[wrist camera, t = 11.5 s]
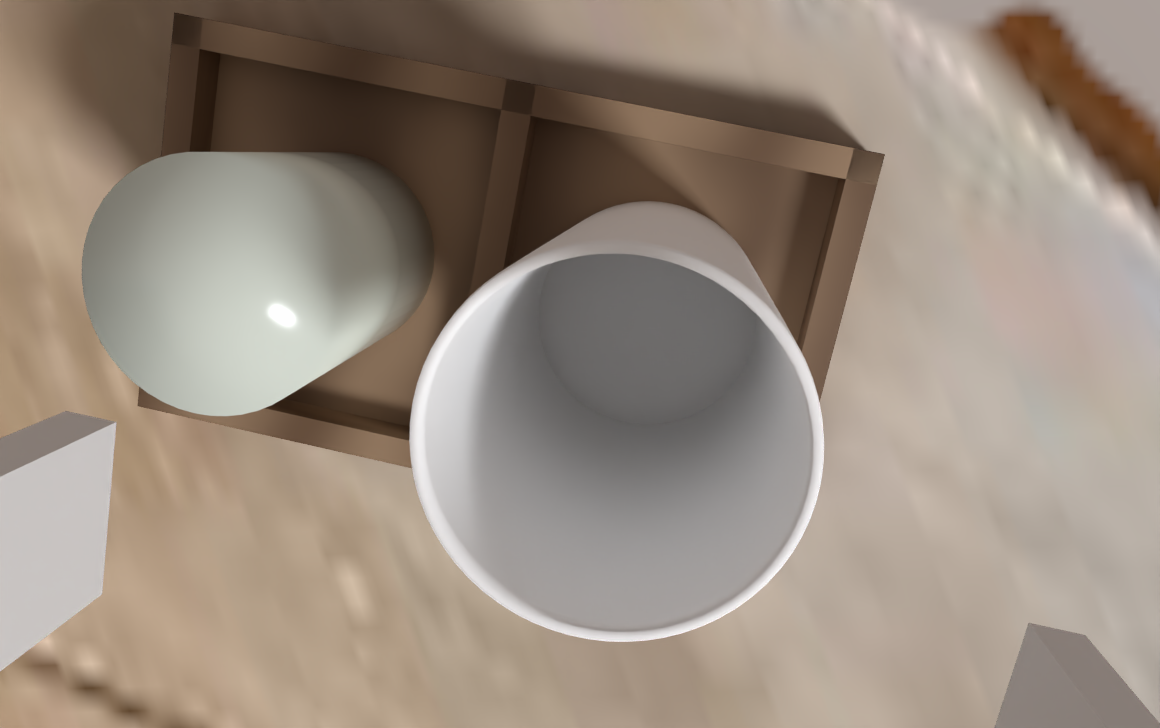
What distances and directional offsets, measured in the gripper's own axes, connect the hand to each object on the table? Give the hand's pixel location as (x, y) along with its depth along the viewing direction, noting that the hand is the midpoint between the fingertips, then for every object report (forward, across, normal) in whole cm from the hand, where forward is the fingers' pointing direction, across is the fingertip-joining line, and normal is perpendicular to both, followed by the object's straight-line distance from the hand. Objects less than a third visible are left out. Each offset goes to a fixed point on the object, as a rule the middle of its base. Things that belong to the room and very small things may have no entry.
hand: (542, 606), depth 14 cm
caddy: (+23, -5, +1) cm, 23 cm away
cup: (+22, +1, +1) cm, 22 cm away
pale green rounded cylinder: (+22, -11, +1) cm, 24 cm away
